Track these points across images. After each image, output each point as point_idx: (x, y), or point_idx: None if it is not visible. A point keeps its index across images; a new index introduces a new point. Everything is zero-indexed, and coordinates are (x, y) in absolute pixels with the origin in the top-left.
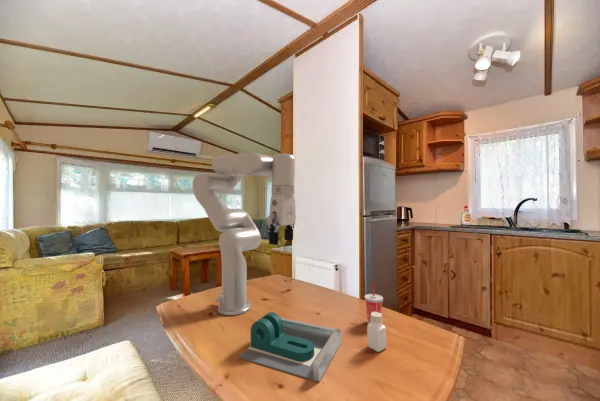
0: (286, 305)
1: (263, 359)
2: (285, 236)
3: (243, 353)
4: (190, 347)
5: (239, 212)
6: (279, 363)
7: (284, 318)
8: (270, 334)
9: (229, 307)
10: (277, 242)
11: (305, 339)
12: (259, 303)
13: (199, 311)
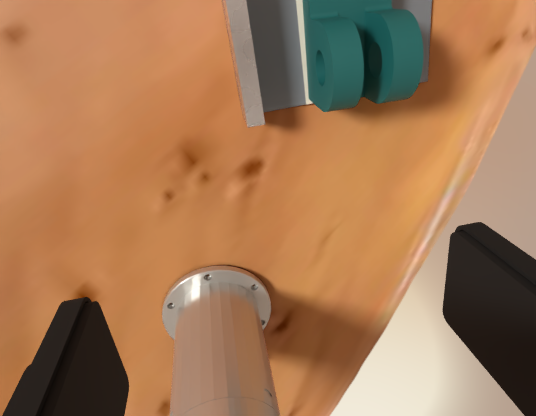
0: (62, 200)
1: (413, 6)
2: (118, 412)
3: None
4: (432, 218)
5: None
6: None
7: (241, 73)
8: (405, 10)
9: (255, 304)
10: (494, 232)
11: None
12: (128, 285)
13: (288, 356)
